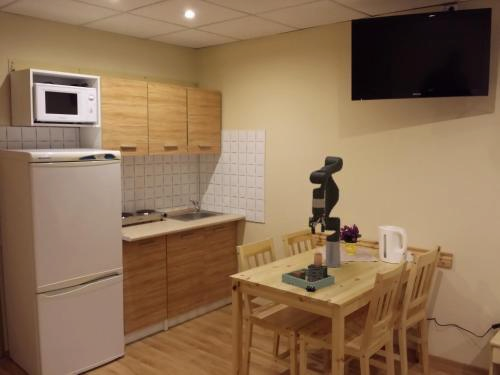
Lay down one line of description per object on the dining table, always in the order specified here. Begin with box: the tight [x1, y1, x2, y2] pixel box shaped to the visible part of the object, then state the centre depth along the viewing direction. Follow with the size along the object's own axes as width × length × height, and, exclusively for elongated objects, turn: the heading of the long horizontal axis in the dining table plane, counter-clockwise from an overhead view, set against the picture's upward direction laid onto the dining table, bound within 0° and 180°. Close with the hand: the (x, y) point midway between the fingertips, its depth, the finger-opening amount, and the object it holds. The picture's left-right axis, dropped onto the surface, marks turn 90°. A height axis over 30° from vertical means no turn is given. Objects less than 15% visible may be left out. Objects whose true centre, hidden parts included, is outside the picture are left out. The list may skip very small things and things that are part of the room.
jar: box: [313, 252, 323, 267], centre depth 274 cm, size 5×5×8 cm
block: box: [292, 269, 307, 281], centre depth 279 cm, size 6×6×6 cm
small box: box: [307, 263, 328, 281], centre depth 275 cm, size 11×6×10 cm, turn 59°
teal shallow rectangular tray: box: [281, 267, 336, 291], centre depth 277 cm, size 20×24×4 cm
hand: (318, 233), depth 273 cm, fingers open, 8 cm apart
